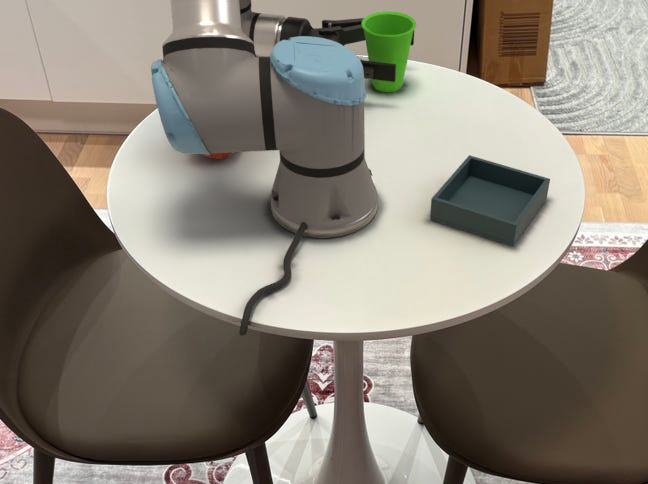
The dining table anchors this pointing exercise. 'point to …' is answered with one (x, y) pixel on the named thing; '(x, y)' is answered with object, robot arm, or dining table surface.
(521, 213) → the holder
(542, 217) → the dining table surface
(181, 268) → the dining table surface
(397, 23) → the cup
